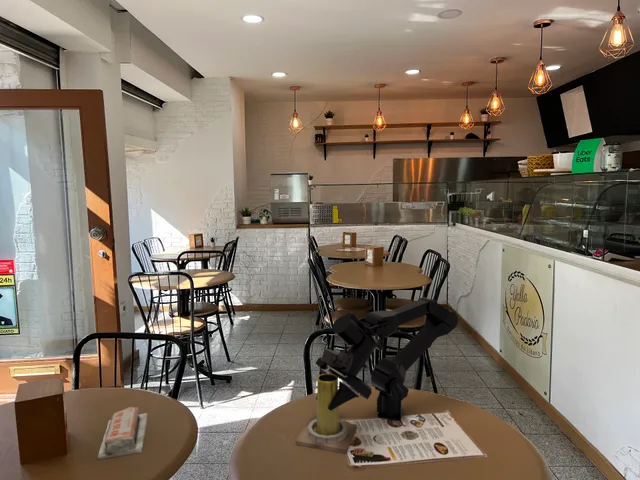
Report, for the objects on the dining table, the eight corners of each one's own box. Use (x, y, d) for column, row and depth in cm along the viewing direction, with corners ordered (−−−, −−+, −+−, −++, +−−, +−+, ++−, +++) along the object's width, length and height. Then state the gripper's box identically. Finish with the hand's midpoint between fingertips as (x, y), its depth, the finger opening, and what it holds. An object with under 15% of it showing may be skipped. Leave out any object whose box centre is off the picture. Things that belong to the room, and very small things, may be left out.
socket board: (356, 428, 117) (357, 419, 117) (346, 453, 106) (346, 443, 105) (310, 420, 121) (310, 412, 121) (295, 444, 110) (295, 435, 109)
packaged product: (141, 435, 106) (96, 442, 103) (142, 454, 107) (97, 462, 104) (146, 401, 123) (108, 407, 120) (147, 418, 124) (109, 424, 121)
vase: (343, 433, 112) (343, 380, 110) (321, 439, 109) (321, 384, 108) (333, 421, 117) (333, 370, 116) (312, 427, 115) (311, 375, 113)
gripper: (320, 328, 120) (285, 376, 116) (361, 348, 105) (323, 404, 100) (344, 349, 125) (311, 396, 121) (387, 372, 110) (351, 427, 105)
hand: (323, 404), depth 112 cm, fingers closed on vase, 5 cm apart
